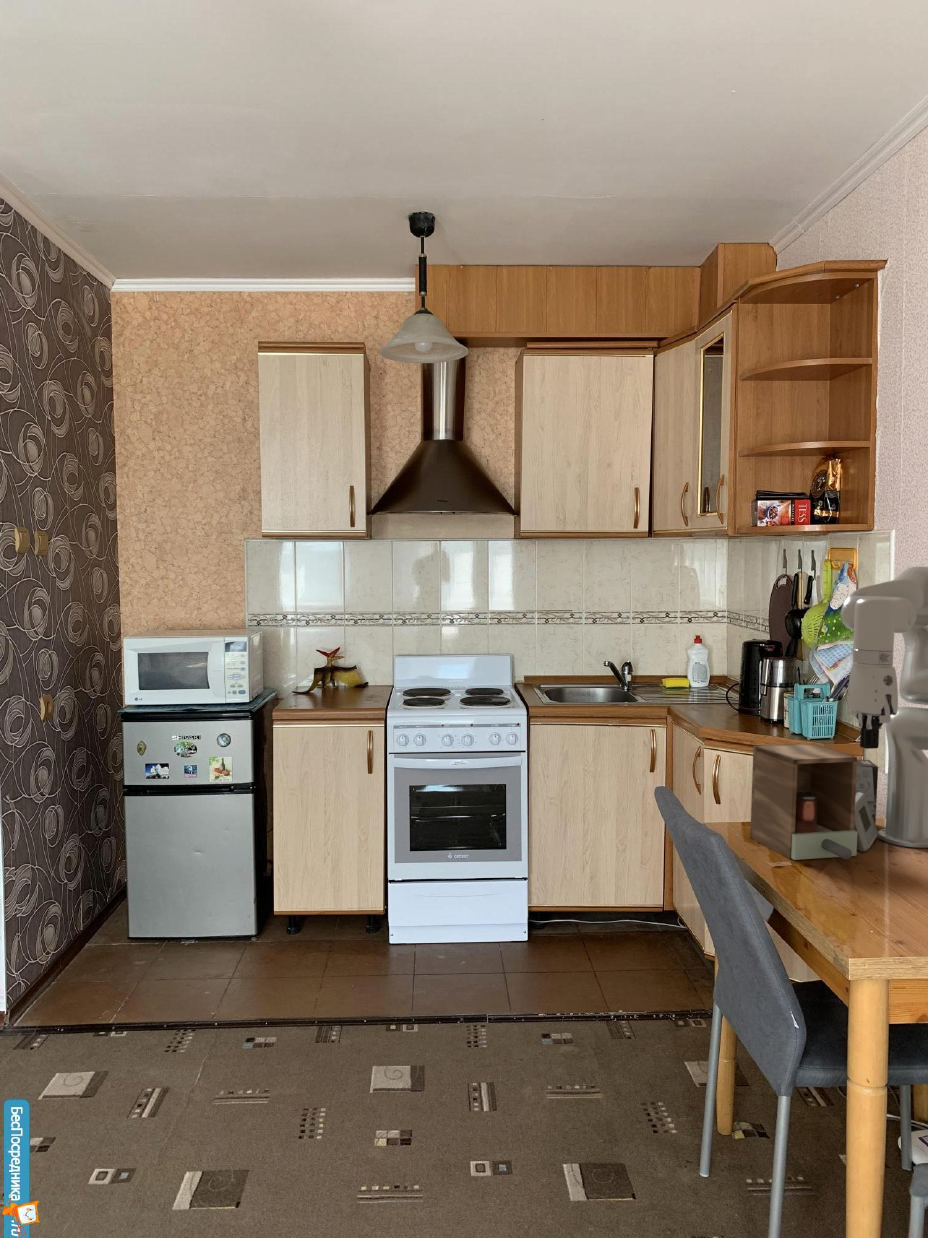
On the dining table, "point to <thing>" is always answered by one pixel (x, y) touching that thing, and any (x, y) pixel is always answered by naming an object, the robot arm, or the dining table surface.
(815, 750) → the drawer cabinet
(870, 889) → the dining table surface
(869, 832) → the digital clock
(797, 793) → the tea tin
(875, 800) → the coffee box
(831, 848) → the green drawer
